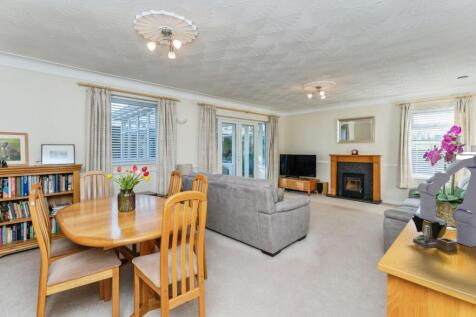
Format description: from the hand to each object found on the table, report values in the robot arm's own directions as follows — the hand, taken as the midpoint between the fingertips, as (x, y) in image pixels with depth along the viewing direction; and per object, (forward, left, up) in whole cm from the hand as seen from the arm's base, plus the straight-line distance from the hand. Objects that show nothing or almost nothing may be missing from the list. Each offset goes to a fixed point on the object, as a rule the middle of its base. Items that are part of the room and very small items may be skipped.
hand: (427, 234), depth 110 cm
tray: (0, 0, -4) cm, 4 cm away
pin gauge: (0, 0, -4) cm, 4 cm away
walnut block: (-3, +6, -4) cm, 8 cm away
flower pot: (-11, -6, -5) cm, 14 cm away
